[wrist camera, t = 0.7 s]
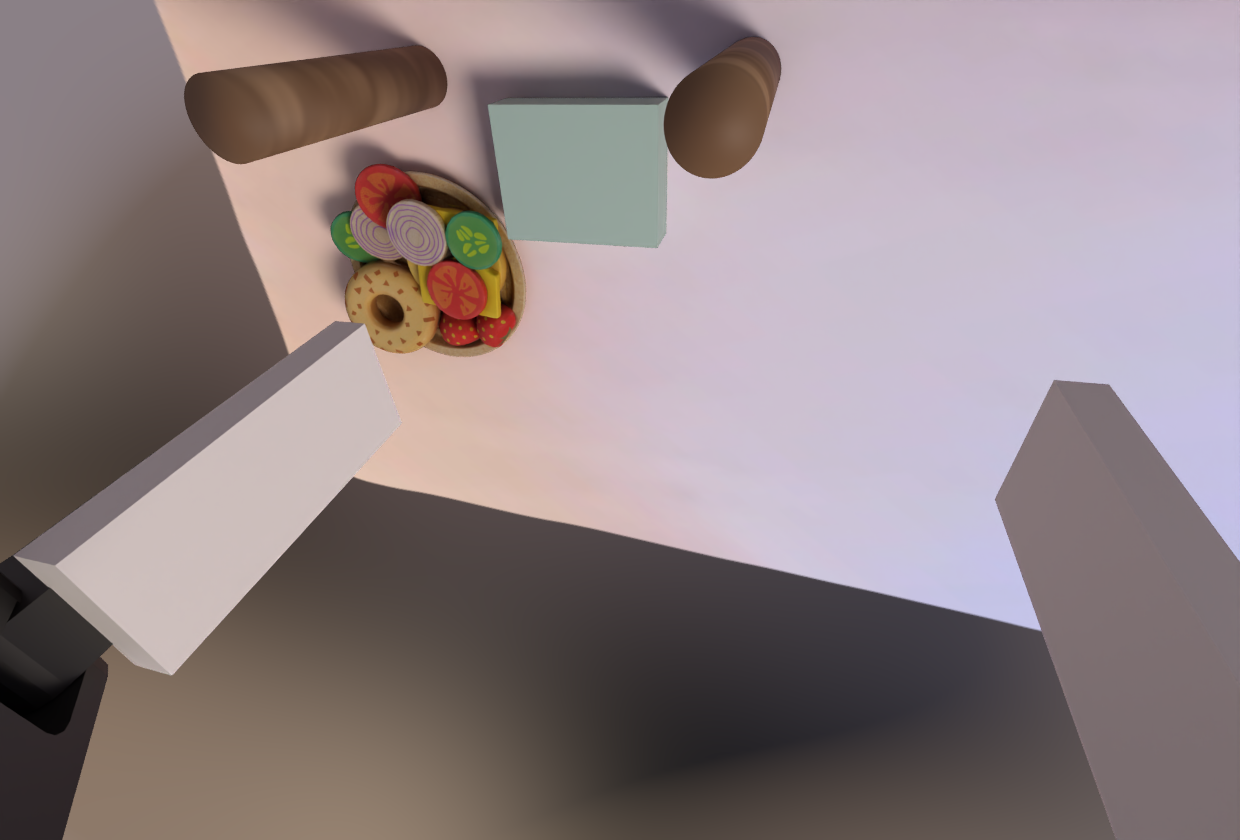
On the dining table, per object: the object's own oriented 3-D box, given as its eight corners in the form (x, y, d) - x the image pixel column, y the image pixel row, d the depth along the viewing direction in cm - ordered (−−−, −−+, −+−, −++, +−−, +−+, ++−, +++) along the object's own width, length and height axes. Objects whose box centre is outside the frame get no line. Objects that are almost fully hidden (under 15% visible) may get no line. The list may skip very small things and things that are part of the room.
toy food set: (372, 328, 44) (346, 348, 41) (333, 145, 36) (297, 156, 33) (533, 364, 42) (515, 388, 39) (531, 179, 34) (509, 193, 31)
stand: (507, 97, 31) (487, 104, 29) (668, 97, 29) (658, 104, 27) (524, 225, 35) (508, 239, 33) (665, 233, 33) (657, 248, 31)
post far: (391, 46, 31) (169, 73, 20) (440, 44, 30) (237, 72, 19) (405, 107, 33) (208, 163, 22) (452, 107, 32) (272, 165, 21)
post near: (720, 37, 27) (664, 65, 16) (785, 36, 26) (772, 64, 15) (716, 108, 29) (662, 177, 18) (776, 108, 28) (759, 180, 17)
